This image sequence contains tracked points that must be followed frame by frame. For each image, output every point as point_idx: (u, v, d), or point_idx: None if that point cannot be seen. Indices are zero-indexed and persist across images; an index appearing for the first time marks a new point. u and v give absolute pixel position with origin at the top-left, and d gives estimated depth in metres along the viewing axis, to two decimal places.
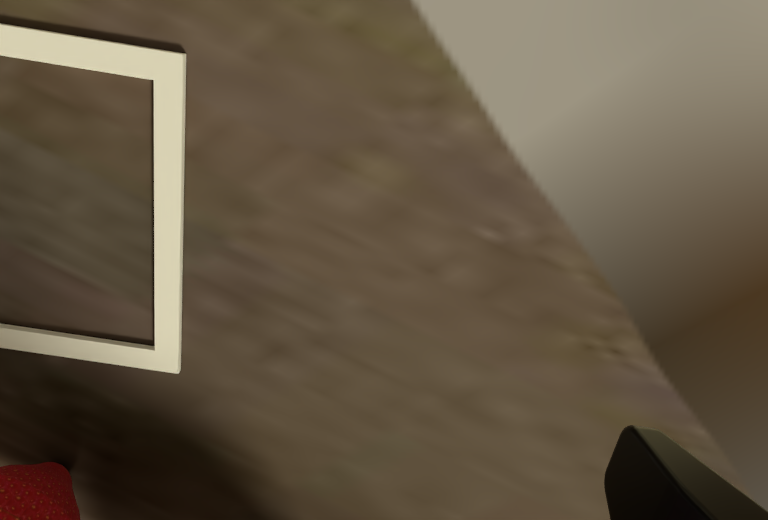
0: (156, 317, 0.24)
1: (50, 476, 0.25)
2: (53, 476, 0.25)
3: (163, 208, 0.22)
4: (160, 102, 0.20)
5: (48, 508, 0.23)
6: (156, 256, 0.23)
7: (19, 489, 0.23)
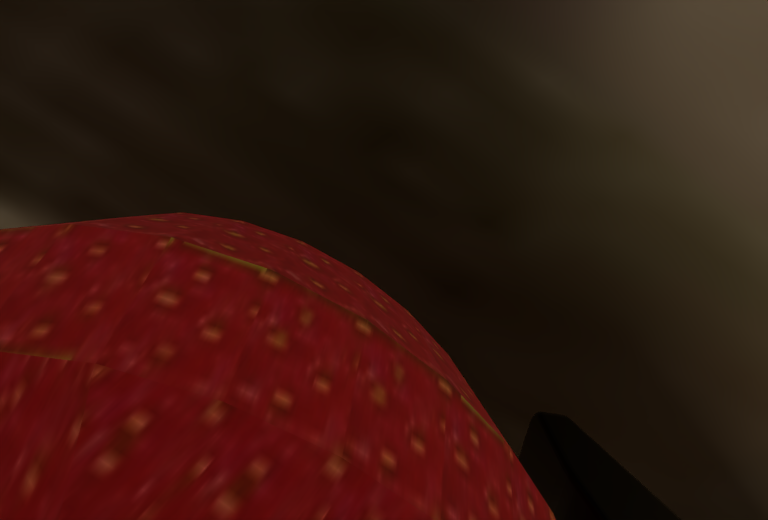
0: None
1: None
2: None
3: None
4: None
5: (461, 375, 0.05)
6: None
7: (358, 280, 0.05)
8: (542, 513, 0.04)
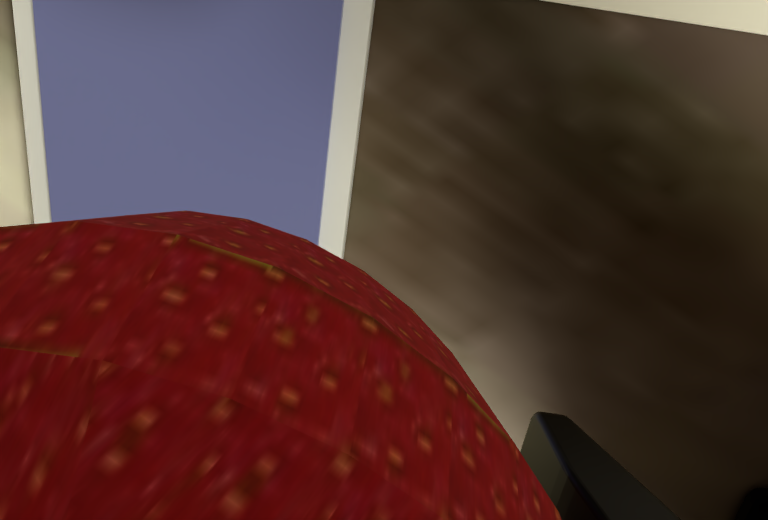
0: None
1: None
2: None
3: None
4: None
5: (466, 374, 0.05)
6: None
7: (362, 278, 0.05)
8: (548, 512, 0.04)
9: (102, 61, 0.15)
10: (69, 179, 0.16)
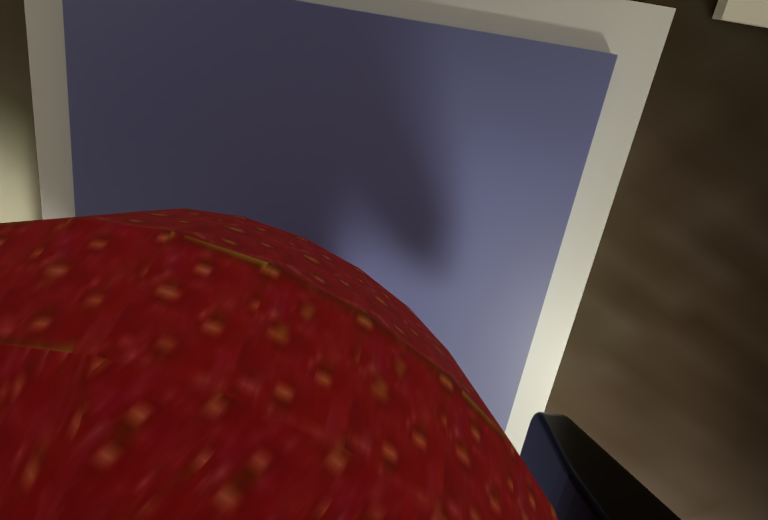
0: None
1: None
2: None
3: None
4: None
5: (462, 371, 0.05)
6: None
7: (359, 276, 0.05)
8: (543, 509, 0.04)
9: (183, 148, 0.09)
10: None
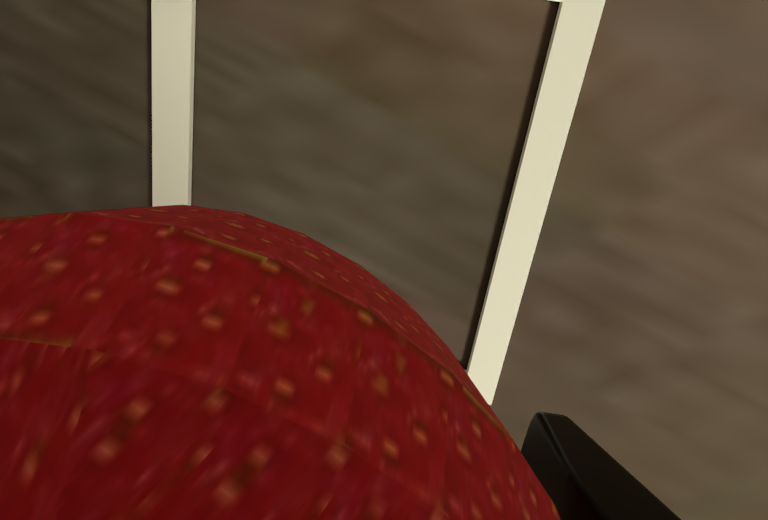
0: (481, 332, 0.18)
1: None
2: None
3: (529, 186, 0.16)
4: (564, 35, 0.15)
5: (462, 368, 0.05)
6: (502, 251, 0.17)
7: (359, 272, 0.05)
8: (544, 505, 0.04)
9: None
10: None
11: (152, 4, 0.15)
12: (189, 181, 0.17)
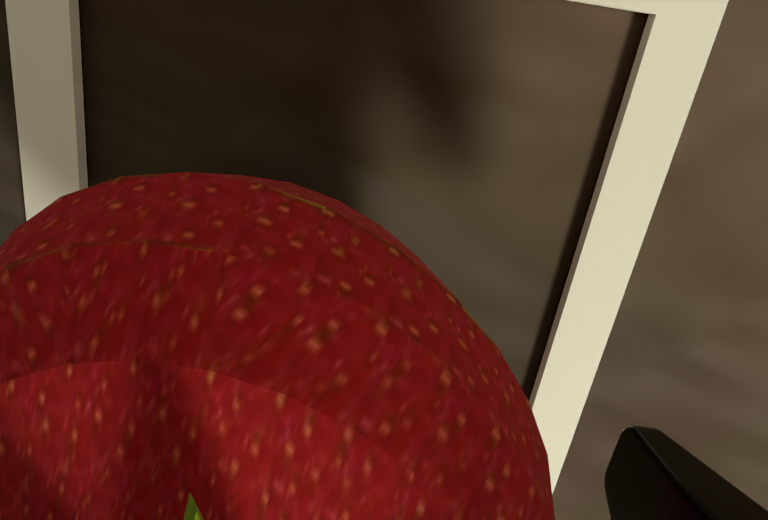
0: None
1: None
2: None
3: (591, 286, 0.11)
4: (655, 65, 0.09)
5: None
6: (547, 375, 0.12)
7: (382, 229, 0.07)
8: (520, 396, 0.06)
9: None
10: None
11: (9, 18, 0.09)
12: None
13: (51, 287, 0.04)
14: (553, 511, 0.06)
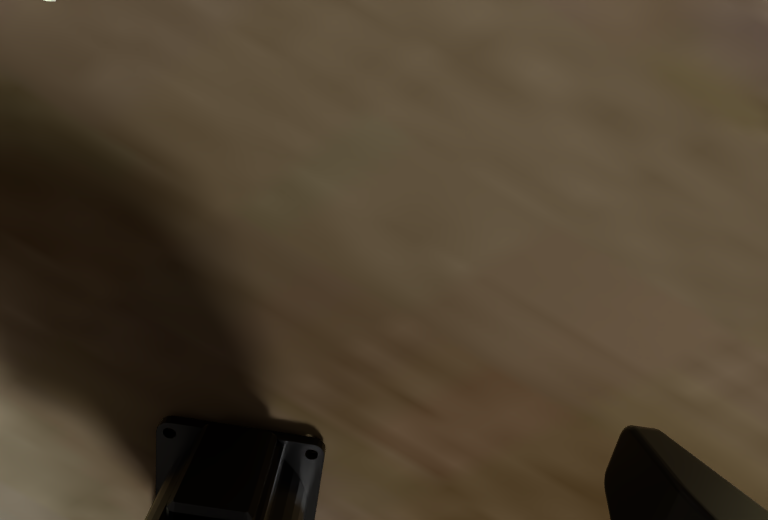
0: None
1: None
2: None
3: None
4: None
5: None
6: None
7: None
8: None
9: None
10: None
11: None
12: None
13: None
14: None
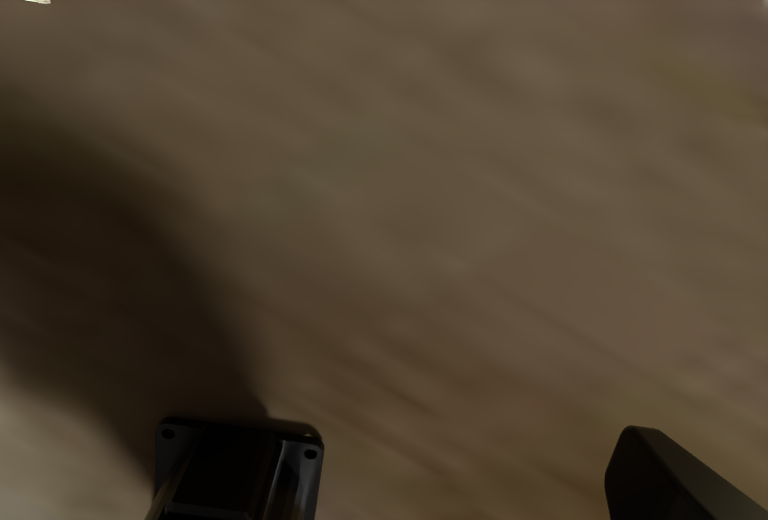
0: None
1: None
2: None
3: None
4: None
5: None
6: None
7: None
8: None
9: None
10: None
11: None
12: None
13: None
14: None
